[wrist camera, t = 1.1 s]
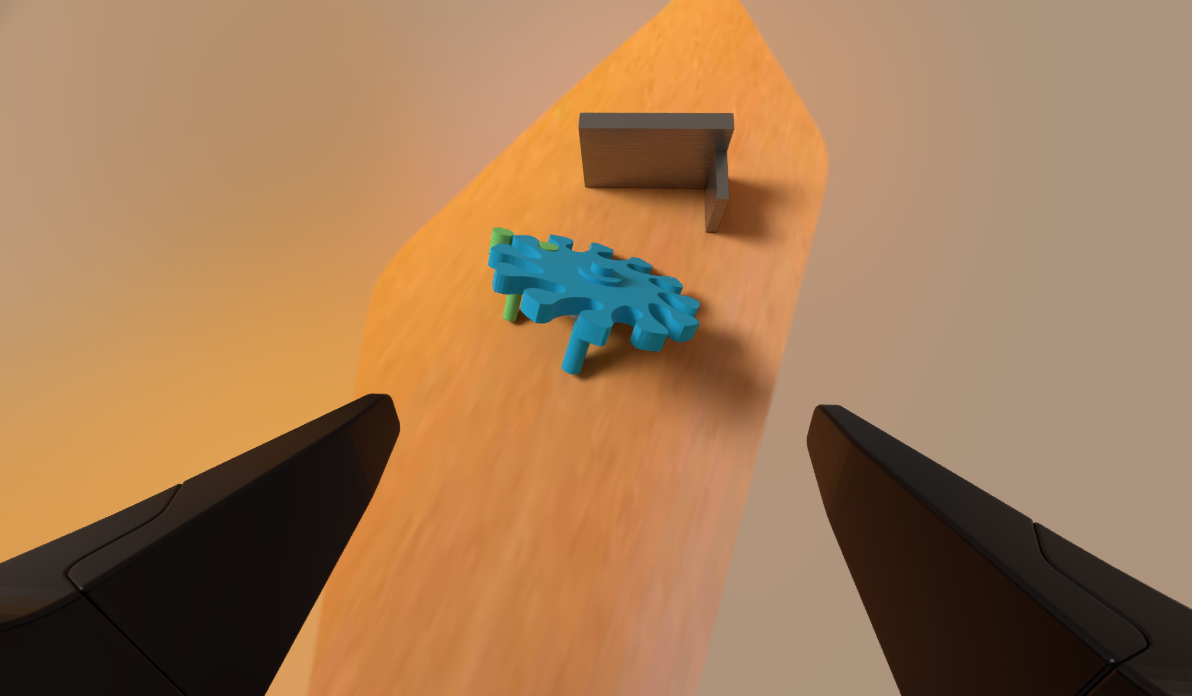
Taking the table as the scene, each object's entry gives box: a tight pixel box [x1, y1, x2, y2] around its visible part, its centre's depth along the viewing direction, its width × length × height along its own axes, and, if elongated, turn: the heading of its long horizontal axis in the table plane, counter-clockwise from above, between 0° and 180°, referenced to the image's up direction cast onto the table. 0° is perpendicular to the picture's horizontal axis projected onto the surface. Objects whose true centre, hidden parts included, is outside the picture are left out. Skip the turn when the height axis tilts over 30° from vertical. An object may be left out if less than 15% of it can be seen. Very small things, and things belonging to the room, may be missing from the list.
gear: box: [488, 227, 700, 374], centre depth 21 cm, size 11×6×10 cm
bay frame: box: [579, 113, 734, 232], centre depth 23 cm, size 4×8×4 cm, turn 87°
